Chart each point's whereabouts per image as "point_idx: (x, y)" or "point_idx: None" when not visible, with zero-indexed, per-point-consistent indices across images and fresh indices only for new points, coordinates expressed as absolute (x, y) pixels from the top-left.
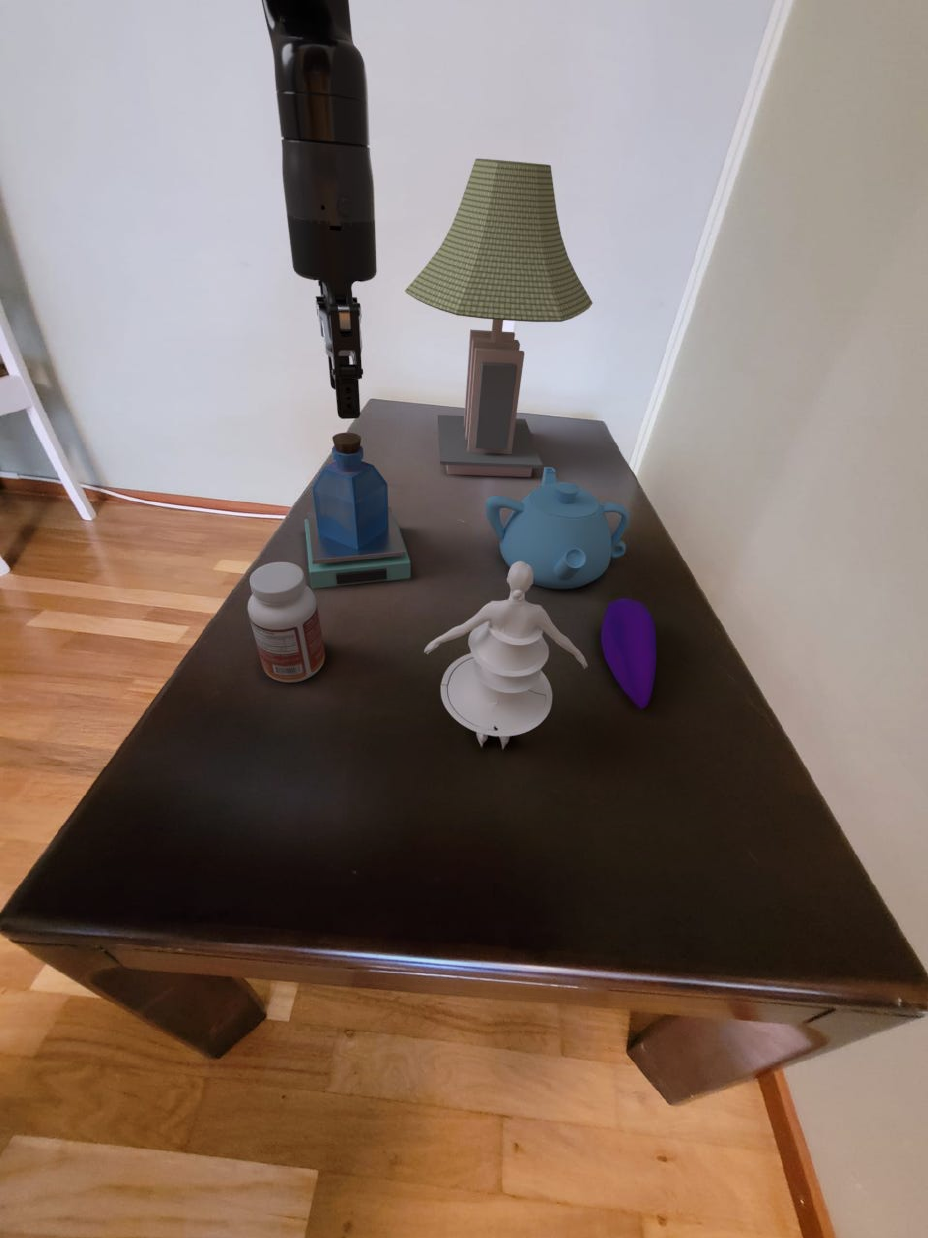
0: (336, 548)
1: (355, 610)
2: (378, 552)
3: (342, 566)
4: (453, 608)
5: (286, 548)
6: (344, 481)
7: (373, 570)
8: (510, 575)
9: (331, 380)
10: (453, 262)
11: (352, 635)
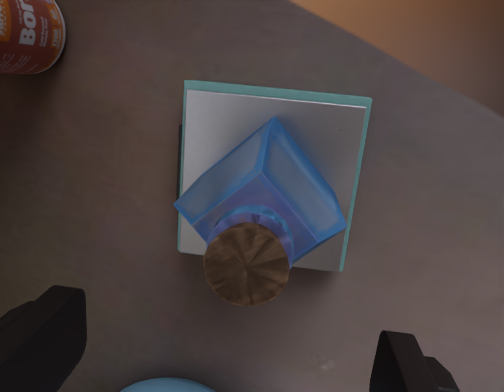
0: (215, 140)
1: (126, 138)
2: None
3: None
4: (106, 271)
5: (332, 50)
6: (204, 206)
7: (179, 188)
8: None
9: (388, 349)
10: None
11: (72, 121)
